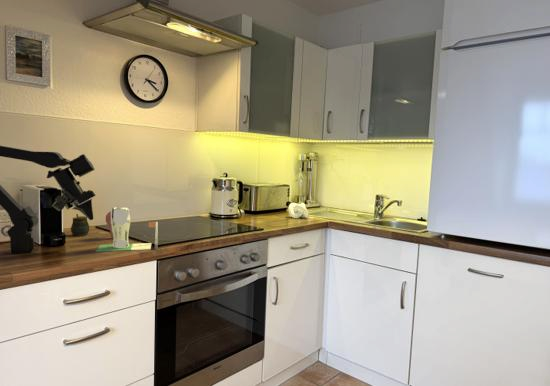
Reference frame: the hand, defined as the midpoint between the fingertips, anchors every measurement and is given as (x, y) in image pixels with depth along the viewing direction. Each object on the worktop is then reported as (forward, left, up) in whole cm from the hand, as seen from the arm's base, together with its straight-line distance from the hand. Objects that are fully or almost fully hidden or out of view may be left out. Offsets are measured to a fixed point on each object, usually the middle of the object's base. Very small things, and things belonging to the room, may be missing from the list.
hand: (92, 219), depth 143 cm
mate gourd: (-1, +29, -11) cm, 31 cm away
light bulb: (+11, +16, -11) cm, 22 cm away
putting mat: (+12, -4, -11) cm, 17 cm away
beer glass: (+10, -3, -11) cm, 15 cm away
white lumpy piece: (+119, +32, -11) cm, 123 cm away
